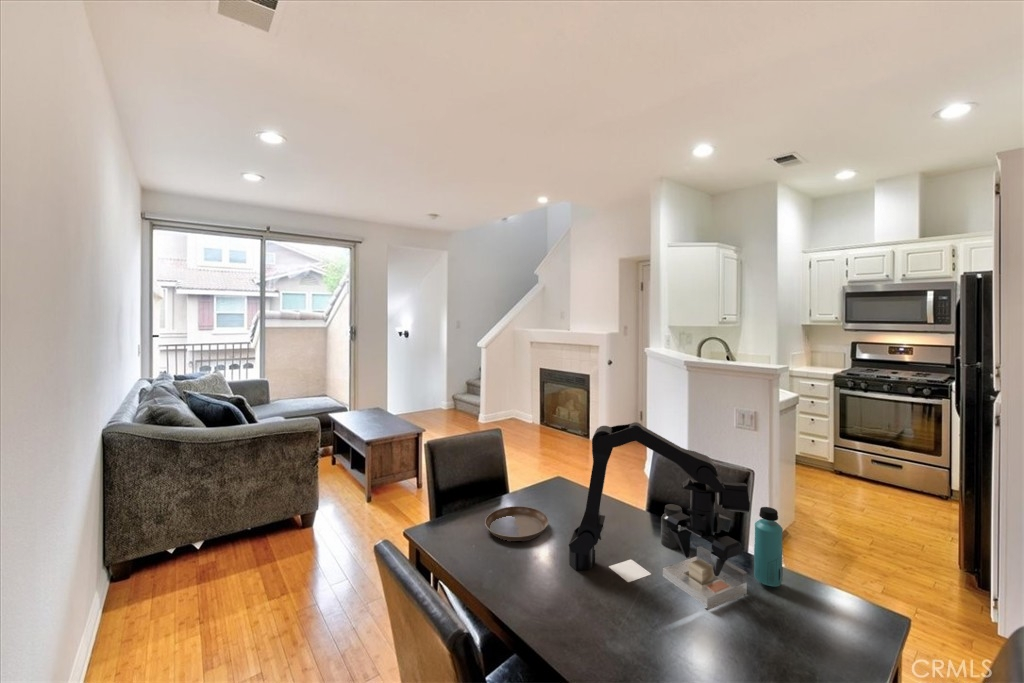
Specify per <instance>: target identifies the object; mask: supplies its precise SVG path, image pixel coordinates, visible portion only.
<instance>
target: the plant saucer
mask: <svg viewBox="0 0 1024 683" xmlns="http://www.w3.org/2000/svg"><path fill="white" fill-rule="evenodd" d="M506 516H512V517H515V519H517V520H516V521H515V522H514V523H515V524H514V525H518V527H520V528H519V529H518V531H517V532H518V533H519V534H518V535H519V536H506V535H501V534H498V533H495V532H493V531H491V530H490V525H491V523H492V522H493V521H495V520H496V519H499V518H502V517H506ZM484 524H485V526H486V527H485V528H486V529H487V530H488V532H489V533H490V534H492V535H493V536H495V538H497V537H498V538H497V539H499V538H500V539H499V540H502V539H503V541H505V540H507V541H506V542H511V541H522V542H528V541H530V540H531V541H532V540H533V539H535V538H537V537H538V536H540V535H541V534H543V532H544V531H545V530H546V528H547V526H548V524H549V518H548V516H547V515H546V514H545V513H544V512H543V511H541V510H539V509H536V508H532V507H530V506H518V505H517V506H508V507H502V508H500V509H495V510H494V511H492V512H490V513H489V514H488V515H487V517H485V521H484Z"/></svg>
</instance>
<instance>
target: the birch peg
mask: <svg viewBox="0 0 1024 683" xmlns="http://www.w3.org/2000/svg"><path fill="white" fill-rule="evenodd" d="M689 577H690V578H692V579H693V580H695V581H696V582H698V583H699V584H701V585H702V586H703V585H705V584H708V583H710V582H713V566H711V565H710V564H708V563H706V562H704V561H703V560H701V559H698V560H696V561H693V562H690V563H689Z"/></svg>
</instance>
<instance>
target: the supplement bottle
mask: <svg viewBox="0 0 1024 683" xmlns="http://www.w3.org/2000/svg"><path fill="white" fill-rule="evenodd" d="M677 513H683V509H682V507H681V506H680V505H677V504H672V503H669V504H666V505H665V506H664V513H663V514H662V516H660V518H661V519H660V544H661V545H662V546H663V547H664V548H667V549H669V550H675V551H676V550H679V551H681V552H682V550H681V548H680V546H679V544H678V542H677V540H676V538H675V536H674V534H673V533H672V532H671V531H670V529H671V528H669V527H667V518H668V517H669V516H670V515H674V514H677Z"/></svg>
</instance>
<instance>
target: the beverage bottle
mask: <svg viewBox="0 0 1024 683" xmlns="http://www.w3.org/2000/svg"><path fill="white" fill-rule="evenodd" d="M758 516H759V517H760V519H759V520H756V521H755V523H754V546H753V551H754V552H753V563H752V564H753V576H754V579H755V580H756V581H757V582H758V583H760V584H761V585H764V586H767V587H779V586H781V585H782V583H783V580H784V579H783V570H784V569H783V563H784V562H783V561H784V559H783V558H784V556H783V532H784V529H783V527H782V526H781V525H780V524H779V523H778V522H777V521H778V520H779V513H778V510H777V509H776V508H773V507H769V506H761V507H760V509H759V514H758Z"/></svg>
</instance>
